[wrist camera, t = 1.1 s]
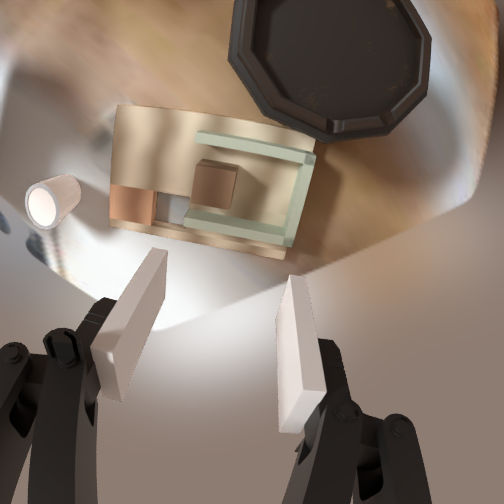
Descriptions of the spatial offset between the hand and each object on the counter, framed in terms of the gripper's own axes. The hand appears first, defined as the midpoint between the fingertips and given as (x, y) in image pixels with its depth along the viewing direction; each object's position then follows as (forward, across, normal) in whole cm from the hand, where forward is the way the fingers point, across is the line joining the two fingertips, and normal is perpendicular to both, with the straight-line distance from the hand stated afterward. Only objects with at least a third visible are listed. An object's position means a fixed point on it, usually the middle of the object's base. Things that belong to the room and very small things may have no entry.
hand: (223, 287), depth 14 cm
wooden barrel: (+27, +5, +15) cm, 31 cm away
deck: (+27, -6, -2) cm, 28 cm away
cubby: (+25, 0, -2) cm, 25 cm away
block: (+25, -4, -2) cm, 25 cm away
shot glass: (+27, -27, -8) cm, 39 cm away
